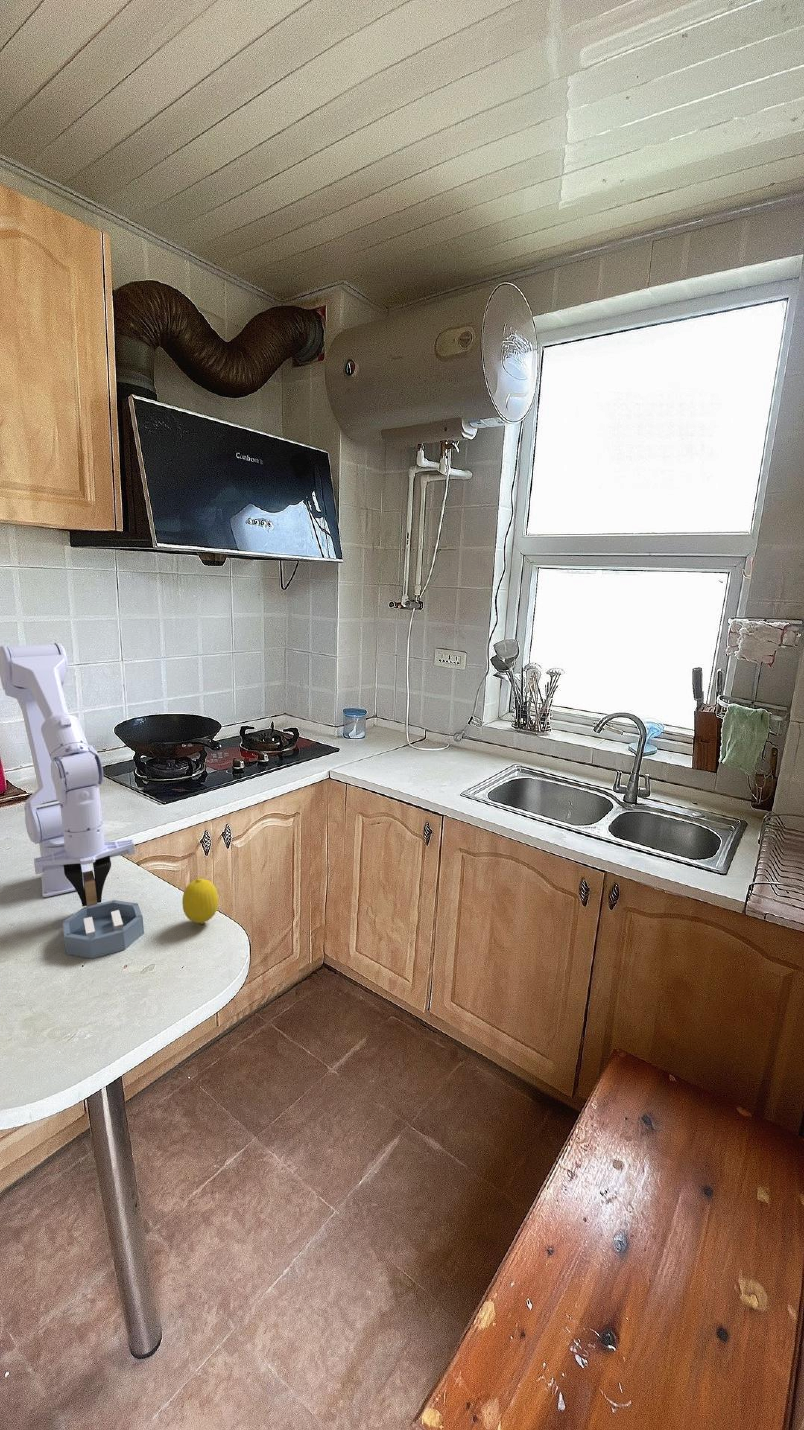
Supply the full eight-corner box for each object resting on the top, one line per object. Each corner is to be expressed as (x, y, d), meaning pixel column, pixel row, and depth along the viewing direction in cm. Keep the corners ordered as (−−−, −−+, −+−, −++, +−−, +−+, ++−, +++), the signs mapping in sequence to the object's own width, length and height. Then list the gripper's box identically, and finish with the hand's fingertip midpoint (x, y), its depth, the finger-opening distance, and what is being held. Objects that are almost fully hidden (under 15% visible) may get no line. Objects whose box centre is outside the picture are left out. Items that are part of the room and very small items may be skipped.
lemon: (223, 914, 101) (220, 870, 100) (214, 932, 96) (211, 886, 94) (190, 914, 101) (186, 870, 99) (179, 933, 96) (175, 887, 94)
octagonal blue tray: (63, 929, 96) (61, 912, 96) (136, 910, 102) (135, 894, 101) (67, 965, 87) (65, 947, 87) (147, 943, 93) (146, 925, 92)
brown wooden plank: (86, 910, 102) (82, 872, 101) (96, 907, 103) (92, 870, 101) (88, 921, 99) (84, 882, 97) (99, 918, 100) (94, 880, 98)
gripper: (30, 844, 90) (41, 925, 93) (135, 825, 98) (142, 901, 101) (30, 827, 96) (40, 905, 99) (128, 811, 104) (135, 883, 107)
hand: (91, 901), depth 100 cm, fingers closed on brown wooden plank, 1 cm apart
